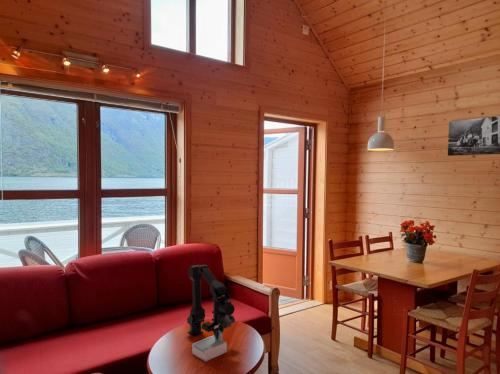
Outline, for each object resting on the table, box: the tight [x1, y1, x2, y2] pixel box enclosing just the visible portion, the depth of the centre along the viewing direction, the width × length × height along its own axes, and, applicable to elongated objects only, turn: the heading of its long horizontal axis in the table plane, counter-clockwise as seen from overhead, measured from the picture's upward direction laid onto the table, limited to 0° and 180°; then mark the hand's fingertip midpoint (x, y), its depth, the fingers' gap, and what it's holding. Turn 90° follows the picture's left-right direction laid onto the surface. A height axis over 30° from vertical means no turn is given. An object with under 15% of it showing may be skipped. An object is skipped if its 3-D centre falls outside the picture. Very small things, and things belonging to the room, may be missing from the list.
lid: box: [194, 331, 225, 352], centre depth 181 cm, size 9×14×5 cm, turn 136°
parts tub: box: [191, 335, 228, 363], centre depth 182 cm, size 11×14×5 cm
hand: (218, 338), depth 186 cm, fingers closed on lid, 2 cm apart
